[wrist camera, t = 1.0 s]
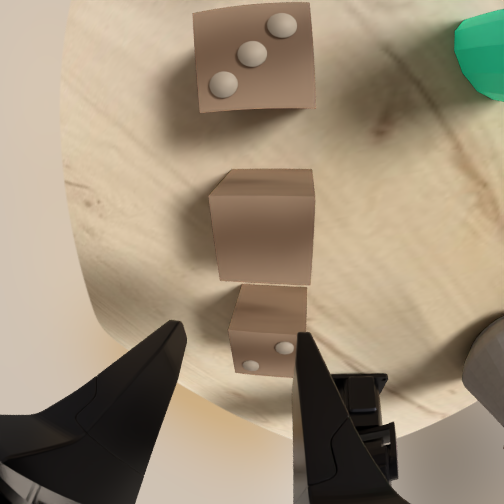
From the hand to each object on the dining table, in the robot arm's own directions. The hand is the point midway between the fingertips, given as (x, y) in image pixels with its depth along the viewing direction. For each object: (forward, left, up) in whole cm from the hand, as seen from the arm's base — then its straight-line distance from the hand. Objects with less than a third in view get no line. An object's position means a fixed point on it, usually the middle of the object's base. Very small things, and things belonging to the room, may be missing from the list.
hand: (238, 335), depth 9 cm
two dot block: (-9, 0, -11) cm, 14 cm away
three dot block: (+9, 0, -11) cm, 14 cm away
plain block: (0, 0, -11) cm, 11 cm away
